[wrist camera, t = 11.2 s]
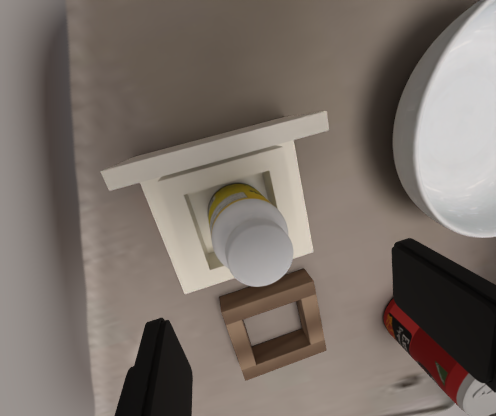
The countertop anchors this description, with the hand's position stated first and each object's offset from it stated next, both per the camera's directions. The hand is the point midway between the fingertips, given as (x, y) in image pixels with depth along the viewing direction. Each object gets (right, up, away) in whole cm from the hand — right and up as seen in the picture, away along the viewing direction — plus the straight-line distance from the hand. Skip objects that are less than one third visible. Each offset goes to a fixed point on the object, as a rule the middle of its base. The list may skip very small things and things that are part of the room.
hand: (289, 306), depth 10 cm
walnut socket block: (+1, -9, +20) cm, 22 cm away
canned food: (+20, -10, +24) cm, 33 cm away
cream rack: (-3, +4, +15) cm, 16 cm away
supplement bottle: (-3, +4, +14) cm, 15 cm away
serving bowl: (+20, +13, +17) cm, 29 cm away
